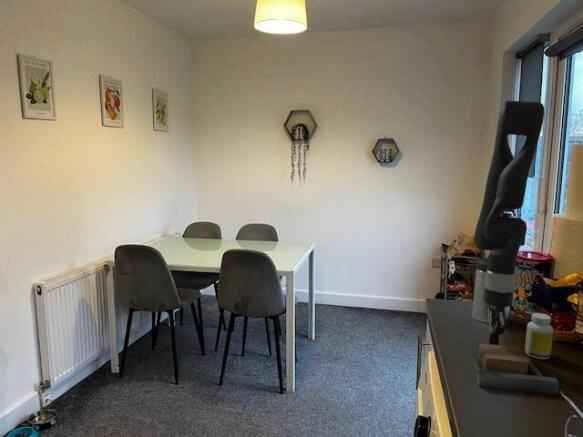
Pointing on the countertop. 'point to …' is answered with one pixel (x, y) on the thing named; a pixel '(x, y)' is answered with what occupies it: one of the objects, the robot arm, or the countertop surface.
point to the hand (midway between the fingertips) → (493, 344)
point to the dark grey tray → (515, 379)
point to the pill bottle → (539, 336)
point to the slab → (503, 359)
